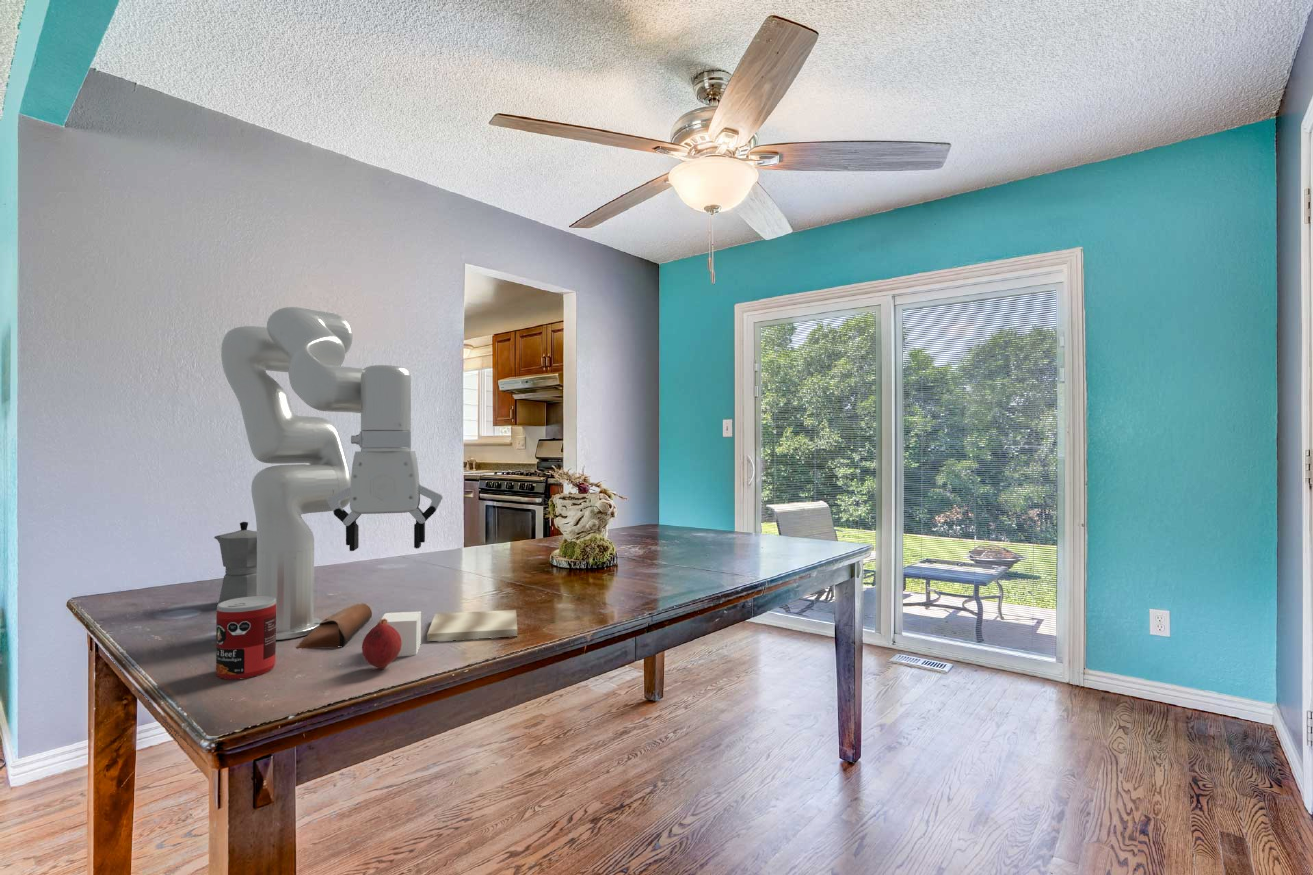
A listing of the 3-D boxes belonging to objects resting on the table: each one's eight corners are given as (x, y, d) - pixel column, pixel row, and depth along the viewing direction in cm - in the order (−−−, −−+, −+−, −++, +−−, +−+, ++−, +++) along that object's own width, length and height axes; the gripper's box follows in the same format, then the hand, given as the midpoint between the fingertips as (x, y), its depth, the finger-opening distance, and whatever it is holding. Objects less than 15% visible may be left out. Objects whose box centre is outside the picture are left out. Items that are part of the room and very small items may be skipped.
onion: (386, 676, 101) (387, 625, 101) (353, 673, 103) (354, 622, 103) (408, 664, 107) (408, 615, 107) (376, 661, 108) (377, 613, 108)
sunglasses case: (327, 620, 132) (345, 591, 132) (359, 637, 133) (377, 608, 133) (294, 649, 114) (315, 615, 114) (330, 668, 115) (351, 634, 116)
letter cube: (378, 658, 110) (378, 622, 110) (385, 646, 116) (385, 613, 116) (416, 656, 112) (416, 620, 112) (420, 644, 118) (421, 611, 118)
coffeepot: (198, 607, 141) (199, 524, 141) (229, 597, 150) (230, 518, 150) (267, 609, 140) (268, 525, 140) (294, 598, 150) (295, 519, 150)
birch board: (427, 642, 119) (427, 633, 119) (435, 621, 132) (435, 613, 132) (517, 637, 122) (517, 629, 122) (516, 617, 136) (516, 609, 136)
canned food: (206, 673, 102) (207, 603, 102) (261, 659, 109) (261, 593, 109) (229, 684, 98) (230, 610, 98) (284, 669, 104) (285, 600, 104)
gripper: (321, 442, 100) (321, 554, 100) (440, 442, 104) (440, 549, 104) (334, 443, 107) (333, 547, 107) (444, 442, 111) (444, 543, 111)
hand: (386, 548), depth 105 cm, fingers open, 9 cm apart
